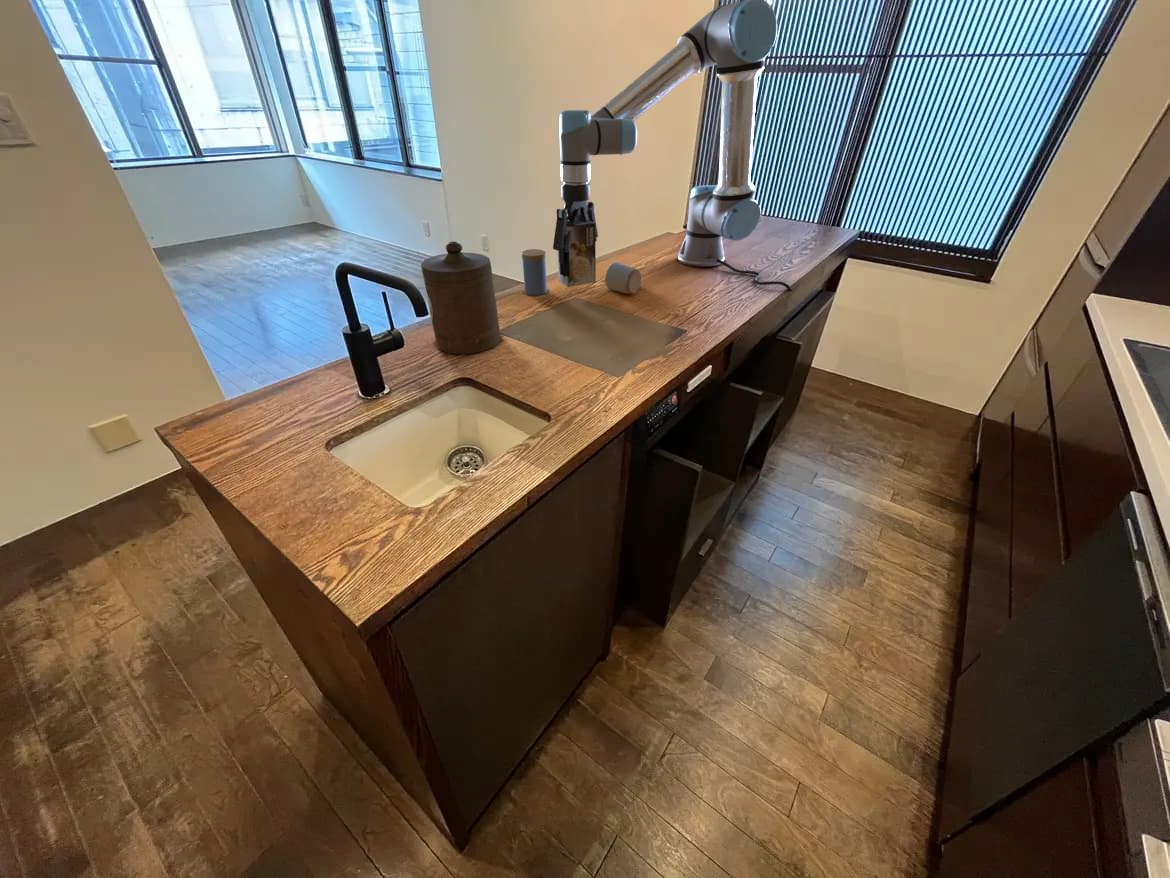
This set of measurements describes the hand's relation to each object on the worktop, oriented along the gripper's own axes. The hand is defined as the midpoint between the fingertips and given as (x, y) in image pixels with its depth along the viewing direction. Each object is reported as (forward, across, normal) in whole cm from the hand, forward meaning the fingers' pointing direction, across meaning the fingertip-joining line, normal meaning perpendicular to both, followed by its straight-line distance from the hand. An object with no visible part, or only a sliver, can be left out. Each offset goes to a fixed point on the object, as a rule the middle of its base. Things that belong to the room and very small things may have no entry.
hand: (576, 270), depth 137 cm
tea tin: (+6, +7, -10) cm, 13 cm away
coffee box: (+4, 0, 0) cm, 4 cm away
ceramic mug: (+6, -8, +11) cm, 15 cm away
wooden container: (+6, +42, -1) cm, 42 cm away
